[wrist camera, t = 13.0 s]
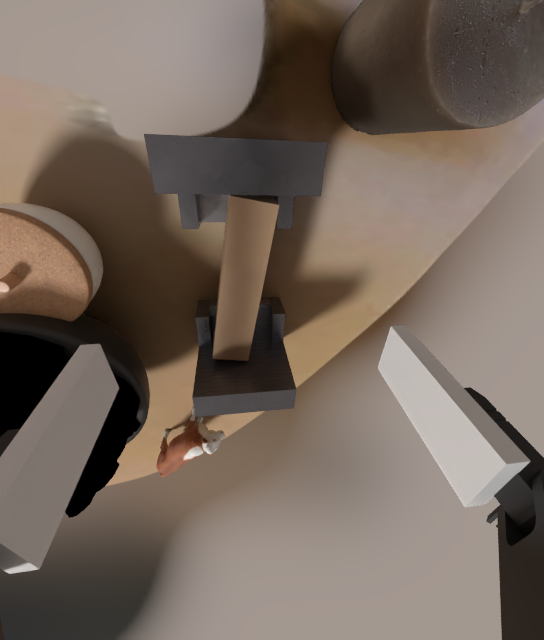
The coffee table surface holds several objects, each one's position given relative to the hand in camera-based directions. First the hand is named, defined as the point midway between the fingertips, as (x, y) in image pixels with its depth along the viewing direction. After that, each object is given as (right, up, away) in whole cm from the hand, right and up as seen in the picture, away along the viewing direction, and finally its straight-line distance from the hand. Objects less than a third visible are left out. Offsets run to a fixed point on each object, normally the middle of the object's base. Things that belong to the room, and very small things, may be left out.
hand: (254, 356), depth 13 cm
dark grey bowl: (-24, -1, +23) cm, 33 cm away
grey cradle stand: (-3, +9, +19) cm, 21 cm away
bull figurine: (-13, -15, +34) cm, 40 cm away
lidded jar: (-21, +10, +16) cm, 28 cm away
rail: (-3, +8, +18) cm, 20 cm away
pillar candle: (+11, +24, +12) cm, 29 cm away
